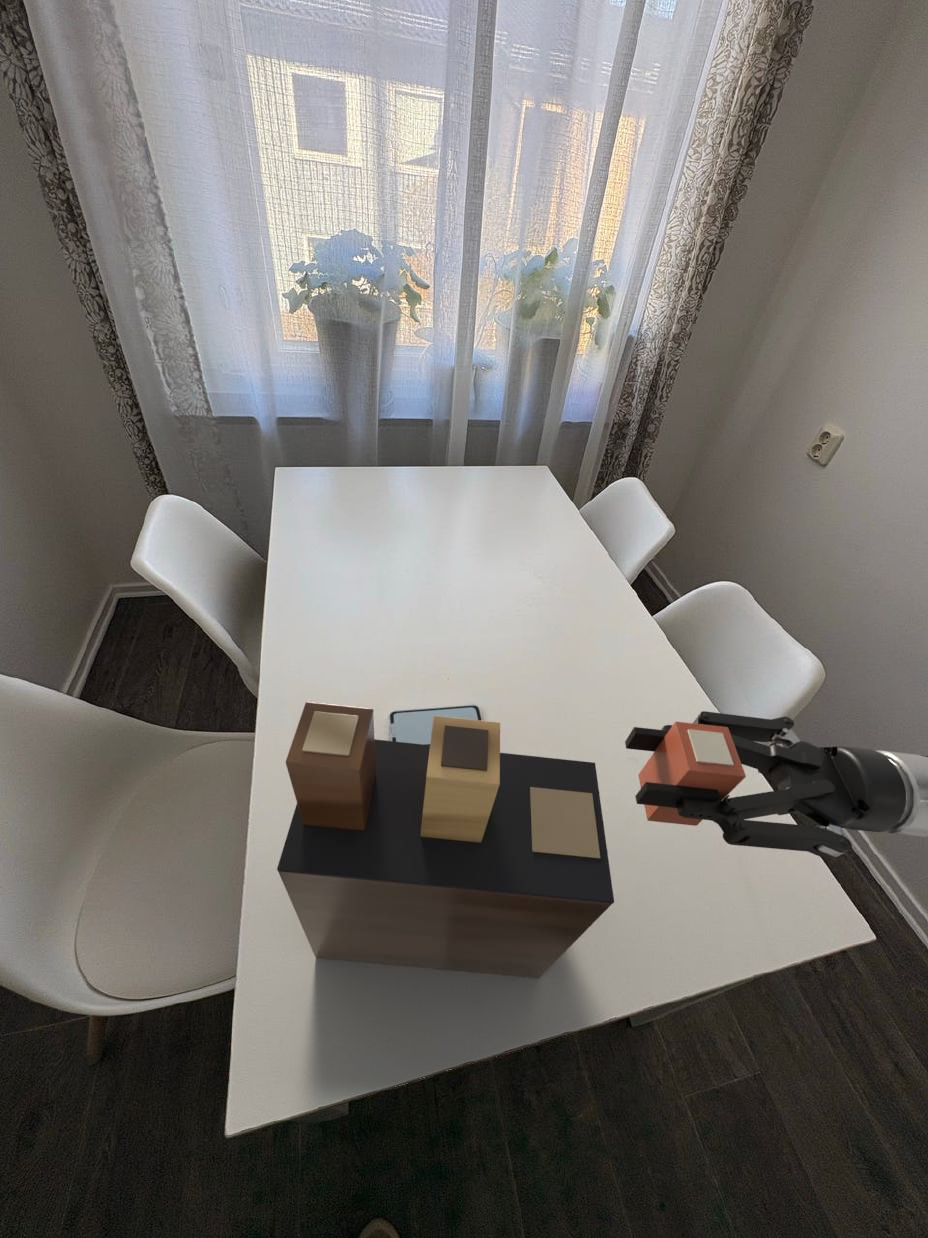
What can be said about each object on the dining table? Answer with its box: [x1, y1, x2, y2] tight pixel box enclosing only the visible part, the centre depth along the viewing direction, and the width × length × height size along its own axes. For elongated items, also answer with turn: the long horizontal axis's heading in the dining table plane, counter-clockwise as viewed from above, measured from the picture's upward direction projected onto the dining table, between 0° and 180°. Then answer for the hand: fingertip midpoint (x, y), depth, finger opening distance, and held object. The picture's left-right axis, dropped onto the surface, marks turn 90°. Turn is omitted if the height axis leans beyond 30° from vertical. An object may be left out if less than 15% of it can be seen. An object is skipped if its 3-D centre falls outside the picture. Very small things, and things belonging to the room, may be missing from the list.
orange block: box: [638, 721, 747, 827], centre depth 49 cm, size 5×5×10 cm
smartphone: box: [388, 704, 484, 745], centre depth 81 cm, size 7×1×15 cm
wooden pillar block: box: [420, 716, 501, 843], centre depth 40 cm, size 5×5×10 cm
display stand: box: [277, 870, 613, 980], centre depth 53 cm, size 12×26×28 cm, turn 87°
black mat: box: [276, 738, 615, 905], centre depth 43 cm, size 12×26×1 cm, turn 87°
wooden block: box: [285, 701, 376, 831], centre depth 39 cm, size 5×5×10 cm
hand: (635, 764), depth 48 cm, fingers closed on orange block, 5 cm apart
